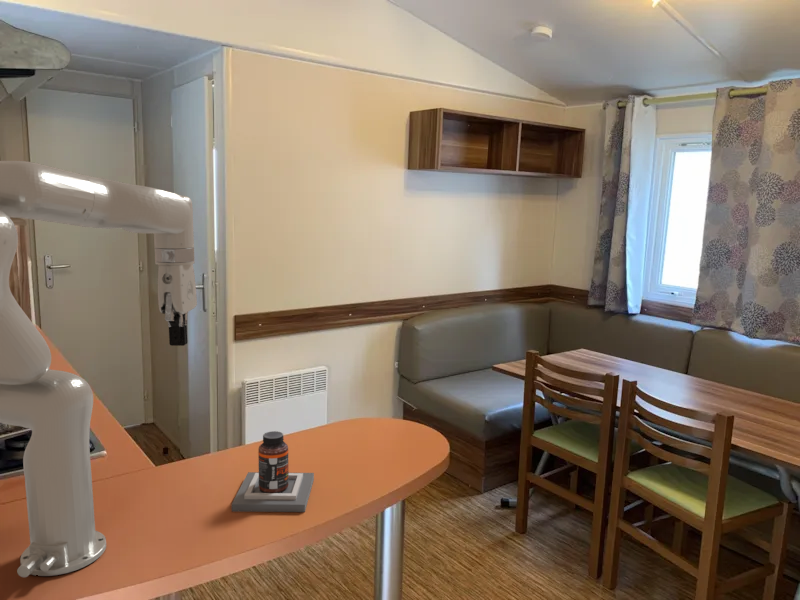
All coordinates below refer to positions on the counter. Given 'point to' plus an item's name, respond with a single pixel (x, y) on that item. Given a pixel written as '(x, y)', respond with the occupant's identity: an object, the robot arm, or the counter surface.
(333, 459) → the counter surface
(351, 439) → the counter surface
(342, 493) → the counter surface
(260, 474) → the supplement bottle
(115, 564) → the counter surface
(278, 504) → the socket plate
